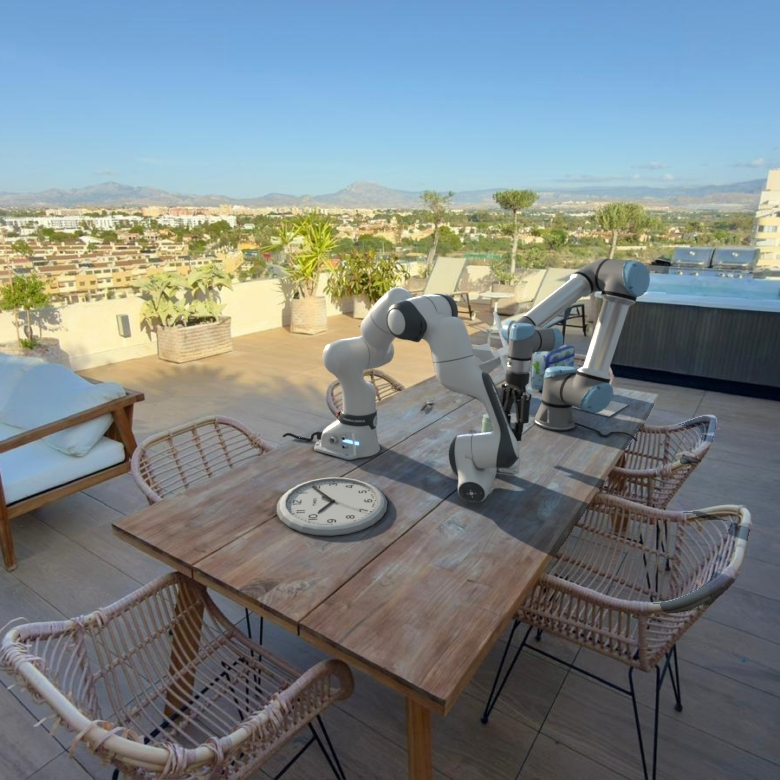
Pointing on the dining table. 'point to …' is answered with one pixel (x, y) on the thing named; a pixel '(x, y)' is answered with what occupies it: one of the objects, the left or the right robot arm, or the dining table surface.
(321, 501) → the wall clock
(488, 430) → the bottle
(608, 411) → the invitation card
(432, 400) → the fork
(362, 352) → the left robot arm
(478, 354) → the white plastic object
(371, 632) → the dining table surface
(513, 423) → the lid
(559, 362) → the lunch box
